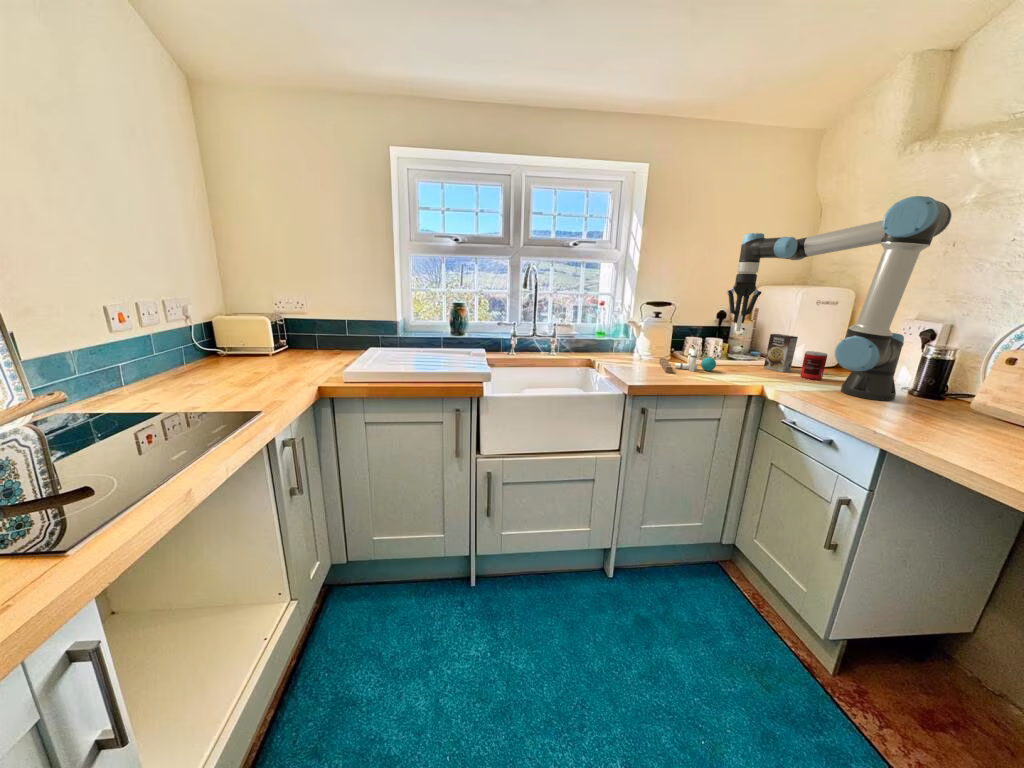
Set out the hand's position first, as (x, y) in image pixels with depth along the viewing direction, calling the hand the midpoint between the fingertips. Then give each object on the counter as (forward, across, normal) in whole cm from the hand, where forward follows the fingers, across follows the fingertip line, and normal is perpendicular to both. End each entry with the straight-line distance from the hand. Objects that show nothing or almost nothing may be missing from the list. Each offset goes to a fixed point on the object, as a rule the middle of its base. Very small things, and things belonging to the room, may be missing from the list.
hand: (737, 330), depth 175 cm
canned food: (+19, -32, -1) cm, 37 cm away
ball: (+15, +9, 0) cm, 18 cm away
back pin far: (+18, +16, -3) cm, 25 cm away
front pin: (+17, +14, 0) cm, 22 cm away
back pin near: (+18, +16, +3) cm, 25 cm away
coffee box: (+19, -24, -15) cm, 34 cm away
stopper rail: (+18, +27, 0) cm, 33 cm away
